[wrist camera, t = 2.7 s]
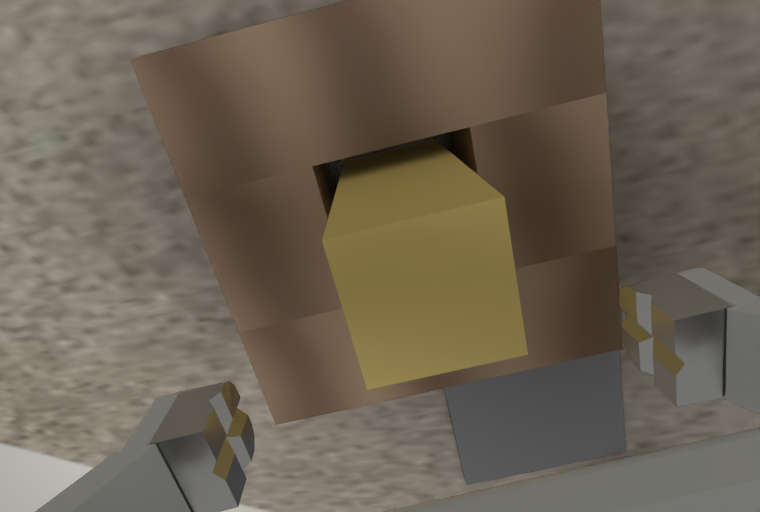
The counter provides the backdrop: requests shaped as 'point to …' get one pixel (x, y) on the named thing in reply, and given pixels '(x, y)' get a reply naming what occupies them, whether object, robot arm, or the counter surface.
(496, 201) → the block
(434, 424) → the counter surface
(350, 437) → the counter surface
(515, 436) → the mat
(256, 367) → the pocket
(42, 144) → the counter surface
